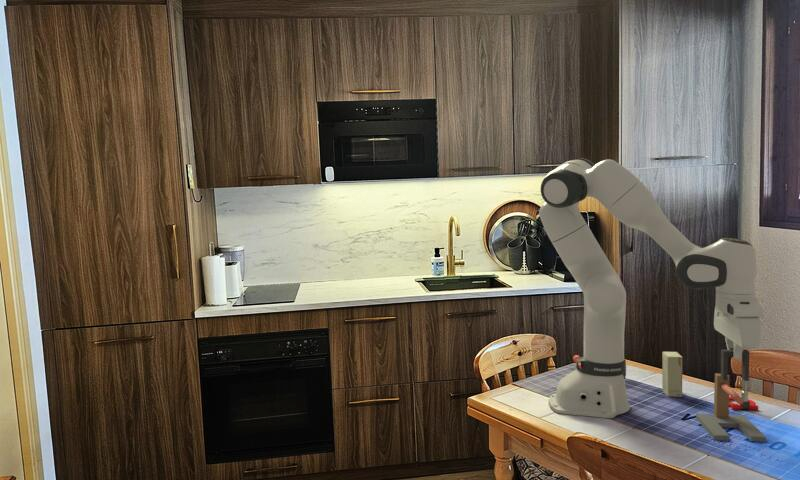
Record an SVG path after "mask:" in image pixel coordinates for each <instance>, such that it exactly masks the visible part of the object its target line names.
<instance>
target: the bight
mask: <svg viewBox="0 0 800 480" xmlns="http://www.w3.org/2000/svg"><path fill="white" fill-rule="evenodd" d="M732 351H733V350H729V349H720V374H721V379H722V380H728V375H729V374H728V373H729V369H728V368H729V358H733V357H732ZM741 379H742V381H743V380H744V381H747V382H748V381H750V351H749V349H743V352H742V359H741Z"/></svg>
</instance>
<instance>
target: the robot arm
mask: <svg viewBox="0 0 800 480" xmlns="http://www.w3.org/2000/svg"><path fill="white" fill-rule="evenodd" d="M540 195H541V197H542V200H543V201H544V202H543V204H541V206H540V208H539V211H538V214H539V218H540V220H541V223H542V225H543V228H544V230H545V233H546V235H547V237H548V239H549V241H550V242H551V244H552V245H553V247H554V248H555V251H556V252H557V254H558V255H559V256H558V257H560V259H561V261H562V263H563V264H564V266H565V268H566V269H567V270H568V271H569V272H570V275H571V276H572V277H573V279H574V280H575V282H576V283H577V285H578V287H579V288H580V290H581V292H582V294H583V355H582V356H581V357H580V355H579V354H578V355H577V354H575V355H574V356H573V358H572V359H573V362H574V363H575V364H576V365H575V366H576V367H575V369H574V370H573V371H572V372H570V373H568V374H567V375H565V376H563V378H561V379H560V380H559V381H558V383H557V388H556V392H555V393H552V394H550V396H548V406H549V408H550V409H551V410H552V411H553V412H555V413H558V414H563V415H574V416H583V417H595V418H603V419H613V418H615V417H616V416H618V415H622V414H626V413H627V412H629V411H630V410H631V406H630V403H629V400H628V395H627V389H626V381H625V380H626V376H627V363H626V359H625V329H626V313H627V312H626V311H627V291H626V289H625V288H626V287H625V286H624V284H623V282H622V279H621V277H619V275H618V273H617V271H616V270H615V268H614V267H613V265H612V263H611V262H610V260H609V258H608V256H607V255H606V253H605V252H604V250H603V249H602V247H601V246H600V244H599V242H598V240H597V238H596V237H595V235H594V234H593V232H592V230H591V229H590V227H589V226H588V223H587V222H586V220H585V218H584V217H583V215H582V214H581V212H580V208H579V204H580V202H581V201H582V202H583V201H584V200H585V199H586V198H590V197H591V198H593V199H595V200H596V201H598V202H599V203H600V204H601V205H602V206H603V207H604V208H605V209H606V210H607V211H608V212H609V213H610V214H611V215H612V216H613V217H614V218H615V219H617V220H618V222H619V221H620V222H621V224H623V225H625V226H626V227H628V228H631V229H635V230H637V231H641V232H643V233H645V234H646V235H648V236H649V237H650V238H652V239H653V240H654V241H655V242H656V243H657V244H658V245H659V247H661V248H662V249H663V250H664V251H665V252H666V253H667V254H668V255H669V256H670V257H671V259H672V260H673V262H674V265H675V270H676V271H675V274H676V277H677V279H678V282H680V283H681V284H682V285H683V286H684V287H686V288H687V289H692V290H707V289H712V288H713V289H714V288H715V305H714V313H713V314H714V315H713V328H714V330H715V331H716V332H718V333H720V334H721V335H723V336H724V340H725V343H726V344H725V345H726V348H727V349H729V350H733V351H732V357H731V358H733V360H742V352H743V350H756V349H758V347H759V346H760V341H761V332H762V330H761V329H762V323H761V322H762V320H761V318H762V317H764V309H763V307H762V305H761V304H760V303H759V301H758V299H757V289H756V286H755V280H756V277H757V254H756V250H755V247H754V246H753V244H752V243H750V242H749V241H747V240H743V239H740V238H734V237H721V238H720V239H719V240H717V241H716V242H713V243H711V244H710V245H708V246H707V245H706V246H705V247H704V246H702V245H699V244H697V243H694V242H692V241H691V240H690V239H689V238H687V237H686V236H685V235H684V234H683V232H681V231H680V230H679V228H677V226H675V225H674V224H673V223H672V222H671V221H670V220H669V219H668V217H667V216H666V215H665V214H664V212H663V210H662V209H661V207H660V205H659V203H658V202H657V200H656V199H655V196H654V195H653V194H652V193H651V192H650V190H649V189H648V187H646V185H645V184H644V183H643V182H642V181H641V180H640V179H638V178H637V176H636V175H634V174H633V173H632V172H631V171H630V170H628V169H627V168H626V167H624V166H623V165H622V164H620V163H619V162H617V161H616V160H614V159H609V158H608V159H603V160H601V161H599V162H597V163H593V161H591V160H589V159H587V158H584V157H583V158H582V157H577V158H571V159H570V160H567V161H565V162H563V163H561V164H559V165H558V166H557V167H556V168H554V169H553V170H551V171H549V172H548V173H547V174H546V175H545V176H544V178H543V179H542V181H541V183H540Z"/></svg>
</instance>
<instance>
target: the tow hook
mask: <svg viewBox="0 0 800 480" xmlns="http://www.w3.org/2000/svg"><path fill="white" fill-rule="evenodd" d="M741 398H742V399H743V400H744V403H743V404H738V403H735V402H736V401H735V400H734V399H733V398H732V397H731V396H729V407H730V408H731V410H734V411H735V410H737V411H738V410H740V411H758V410H759V405H757V404H756V402H755V401H754V400H752V399H750V398H749V392H748V381H744V380H743V379H742V389H741ZM732 401H733V402H732Z"/></svg>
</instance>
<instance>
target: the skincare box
mask: <svg viewBox="0 0 800 480" xmlns="http://www.w3.org/2000/svg"><path fill="white" fill-rule="evenodd" d="M661 355H662V358H661V359H662V360H661V361H662V362H661V363H662V370H661V371H662V377H661V378H662V383H661V384H662V387H661V389H662V392H663V393H664V394H665V395H666V396H667V397H681V398H682V397H683V356H682V355H681V354H680V353H679V352H678V351H662V354H661Z"/></svg>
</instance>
